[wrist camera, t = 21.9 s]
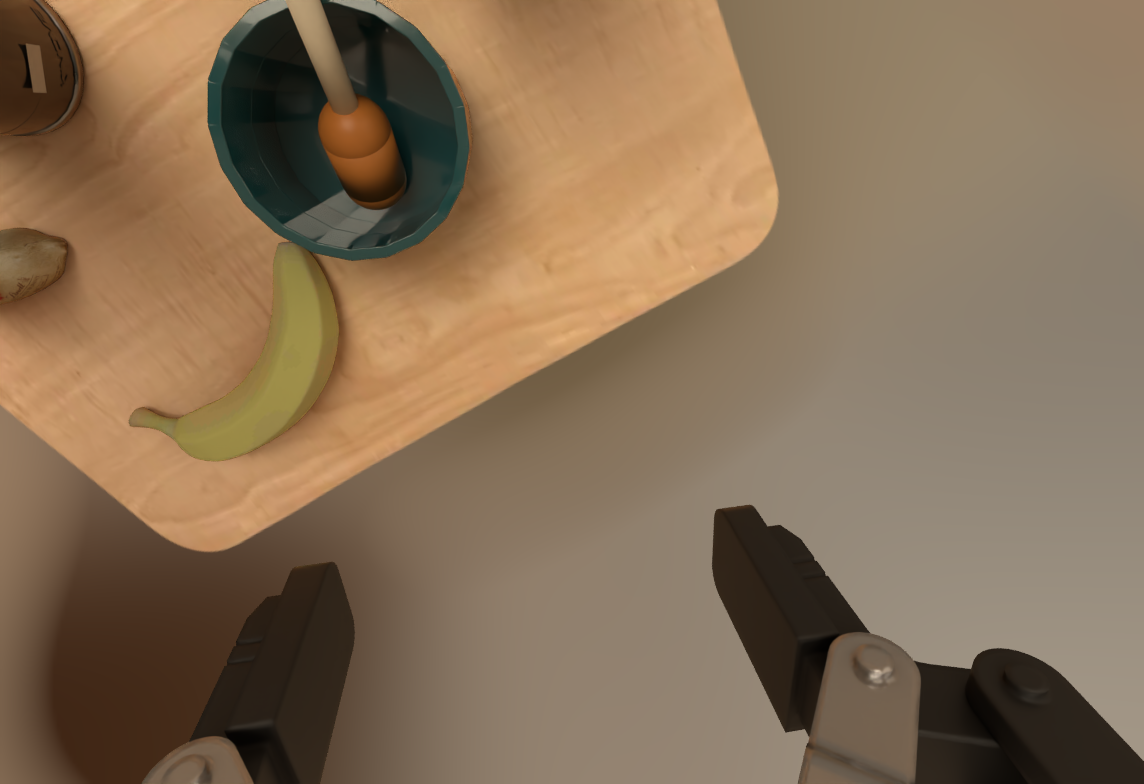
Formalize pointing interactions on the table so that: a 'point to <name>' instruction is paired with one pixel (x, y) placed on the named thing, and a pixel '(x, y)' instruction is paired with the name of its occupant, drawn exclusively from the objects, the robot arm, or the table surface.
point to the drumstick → (350, 119)
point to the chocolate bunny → (28, 262)
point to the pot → (291, 138)
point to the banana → (268, 369)
